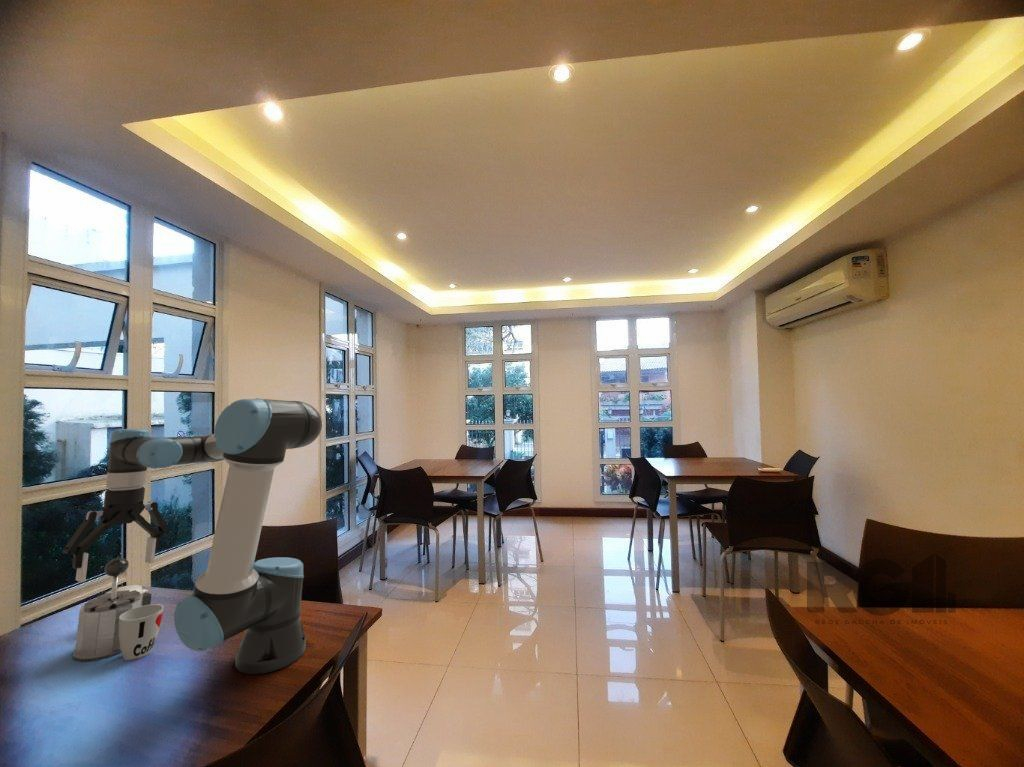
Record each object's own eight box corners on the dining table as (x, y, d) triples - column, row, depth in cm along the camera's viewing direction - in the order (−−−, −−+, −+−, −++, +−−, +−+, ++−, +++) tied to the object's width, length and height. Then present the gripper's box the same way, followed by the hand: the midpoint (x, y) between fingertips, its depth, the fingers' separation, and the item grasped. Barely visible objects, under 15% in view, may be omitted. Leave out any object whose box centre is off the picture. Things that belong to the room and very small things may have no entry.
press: (157, 637, 104) (162, 591, 105) (87, 666, 92) (93, 614, 93) (132, 626, 109) (137, 582, 110) (62, 653, 96) (68, 603, 97)
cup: (131, 666, 93) (136, 622, 93) (105, 661, 94) (110, 617, 95) (167, 646, 101) (171, 606, 101) (143, 642, 102) (147, 602, 103)
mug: (150, 618, 114) (154, 586, 115) (109, 633, 105) (113, 599, 106) (136, 612, 117) (139, 581, 117) (94, 627, 108) (98, 593, 109)
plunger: (139, 634, 102) (147, 555, 104) (94, 652, 94) (104, 566, 96) (121, 627, 106) (129, 550, 107) (76, 643, 98) (86, 560, 99)
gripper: (172, 479, 116) (166, 553, 114) (49, 494, 93) (38, 587, 91) (188, 481, 113) (181, 557, 111) (65, 497, 90) (53, 593, 88)
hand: (117, 571), depth 101 cm, fingers open, 13 cm apart
